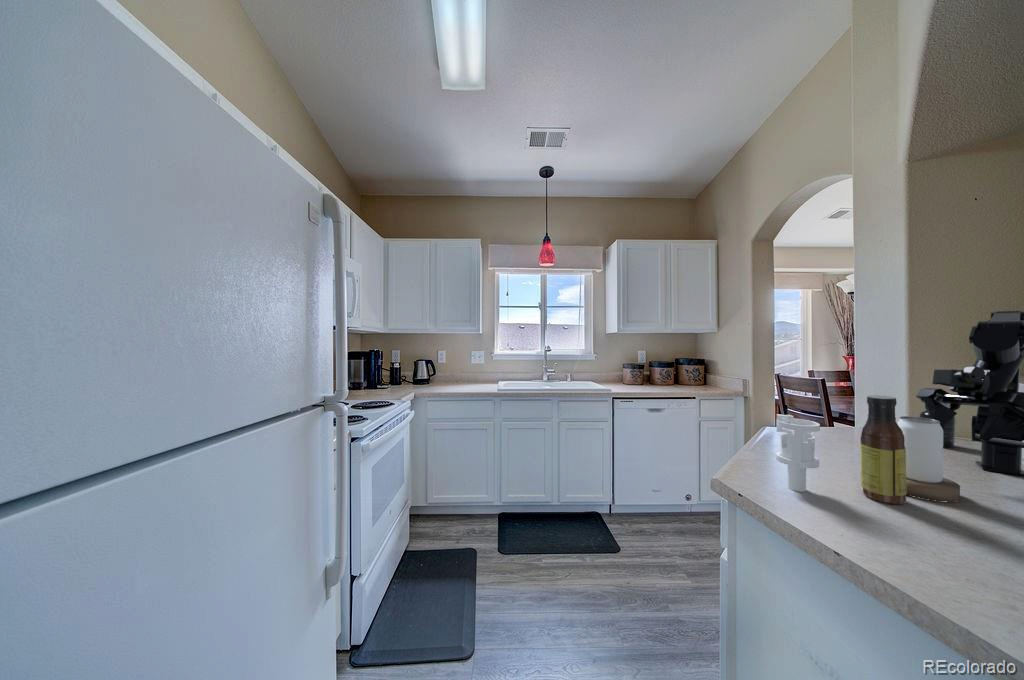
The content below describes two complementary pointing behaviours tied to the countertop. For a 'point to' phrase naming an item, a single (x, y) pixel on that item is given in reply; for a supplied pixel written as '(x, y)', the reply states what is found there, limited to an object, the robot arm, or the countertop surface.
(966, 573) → the countertop surface
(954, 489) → the walnut stand
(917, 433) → the can
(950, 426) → the supplement bottle
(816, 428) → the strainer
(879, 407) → the sauce bottle
